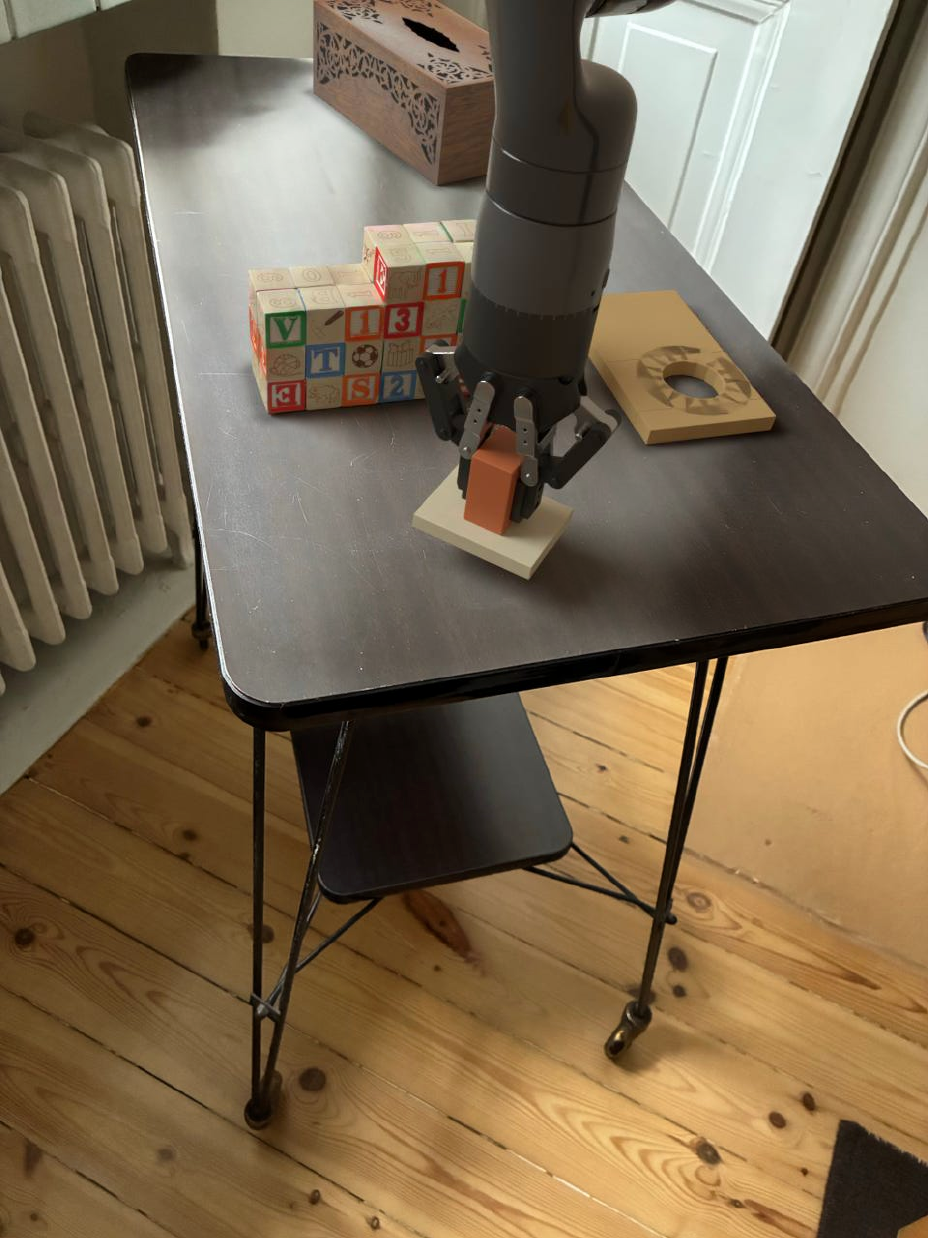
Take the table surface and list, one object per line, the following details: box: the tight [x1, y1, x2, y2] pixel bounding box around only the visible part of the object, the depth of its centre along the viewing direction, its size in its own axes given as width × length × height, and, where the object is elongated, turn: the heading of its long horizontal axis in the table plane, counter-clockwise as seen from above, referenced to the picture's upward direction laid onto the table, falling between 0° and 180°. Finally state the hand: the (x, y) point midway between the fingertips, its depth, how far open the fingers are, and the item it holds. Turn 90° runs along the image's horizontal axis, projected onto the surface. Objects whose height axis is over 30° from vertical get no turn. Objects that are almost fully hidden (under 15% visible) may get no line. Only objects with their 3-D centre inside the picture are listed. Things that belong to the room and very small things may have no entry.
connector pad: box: [412, 425, 575, 581], centre depth 67 cm, size 9×7×8 cm
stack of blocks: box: [247, 219, 477, 414], centre depth 78 cm, size 21×6×12 cm, turn 109°
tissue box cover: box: [312, 0, 495, 187], centre depth 113 cm, size 26×14×10 cm, turn 37°
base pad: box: [588, 289, 777, 446], centre depth 88 cm, size 20×12×2 cm, turn 18°
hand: (496, 504), depth 67 cm, fingers closed on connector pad, 3 cm apart
